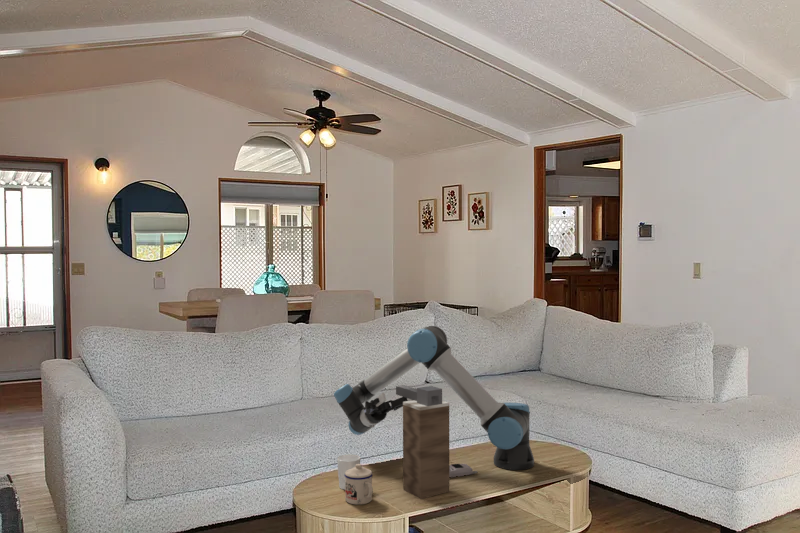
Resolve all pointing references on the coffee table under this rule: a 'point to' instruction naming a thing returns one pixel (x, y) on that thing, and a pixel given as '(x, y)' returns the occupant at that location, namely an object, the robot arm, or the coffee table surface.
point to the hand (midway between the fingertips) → (400, 394)
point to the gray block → (421, 394)
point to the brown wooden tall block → (425, 449)
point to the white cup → (346, 467)
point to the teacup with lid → (358, 485)
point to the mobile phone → (460, 470)
